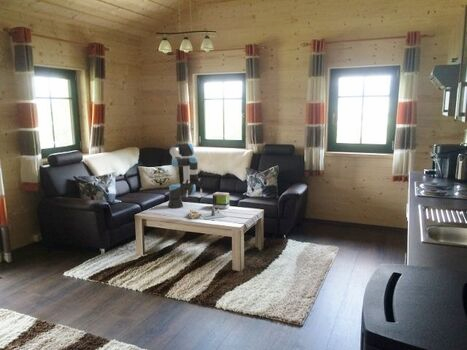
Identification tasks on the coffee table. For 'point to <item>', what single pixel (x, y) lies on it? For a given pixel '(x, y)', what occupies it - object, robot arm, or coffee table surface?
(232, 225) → the coffee table surface
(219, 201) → the tea box
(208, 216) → the post base
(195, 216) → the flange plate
